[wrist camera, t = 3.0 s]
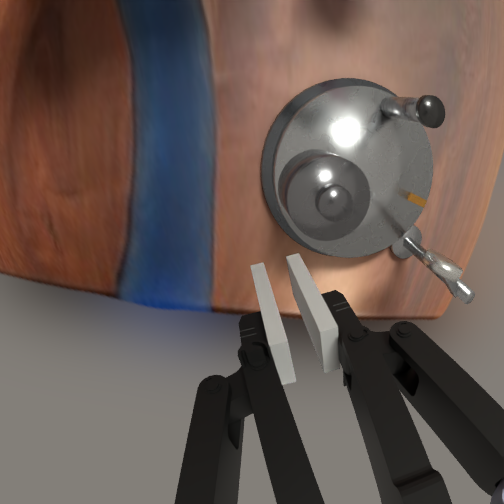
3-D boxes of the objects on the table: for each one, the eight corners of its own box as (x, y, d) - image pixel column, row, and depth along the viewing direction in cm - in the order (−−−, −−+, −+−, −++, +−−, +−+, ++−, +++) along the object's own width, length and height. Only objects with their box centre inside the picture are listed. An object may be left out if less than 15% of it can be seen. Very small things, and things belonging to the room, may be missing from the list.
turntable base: (235, 228, 36) (236, 232, 35) (297, 48, 28) (300, 47, 27) (384, 268, 41) (387, 272, 40) (443, 127, 33) (448, 128, 32)
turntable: (247, 226, 35) (259, 270, 26) (306, 58, 27) (342, 41, 18) (386, 265, 40) (423, 305, 31) (442, 131, 32) (495, 145, 23)
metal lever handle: (358, 242, 39) (419, 310, 25) (373, 208, 37) (445, 265, 23) (408, 258, 41) (470, 319, 28) (422, 228, 39) (492, 282, 26)
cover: (267, 210, 32) (278, 233, 27) (293, 138, 29) (311, 145, 23) (333, 230, 34) (355, 254, 28) (360, 164, 31) (388, 178, 25)
